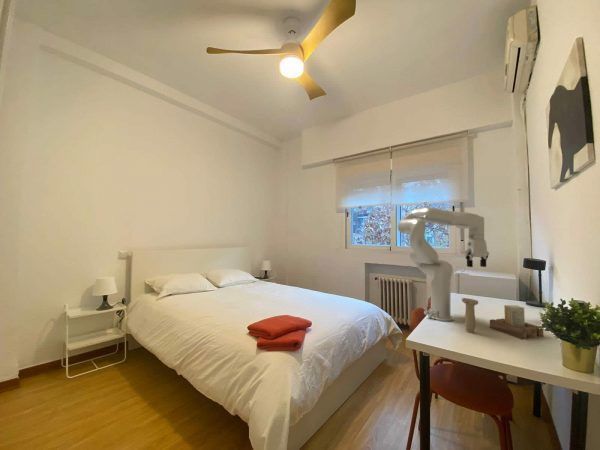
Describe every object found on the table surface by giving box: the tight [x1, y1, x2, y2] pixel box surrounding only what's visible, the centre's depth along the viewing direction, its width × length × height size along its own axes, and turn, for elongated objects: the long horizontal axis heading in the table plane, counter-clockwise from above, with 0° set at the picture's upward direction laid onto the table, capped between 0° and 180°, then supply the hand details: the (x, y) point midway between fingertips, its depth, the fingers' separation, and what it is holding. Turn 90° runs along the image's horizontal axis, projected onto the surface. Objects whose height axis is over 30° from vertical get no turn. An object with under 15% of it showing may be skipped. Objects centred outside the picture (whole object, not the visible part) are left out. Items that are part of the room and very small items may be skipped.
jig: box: [489, 317, 544, 340], centre depth 118 cm, size 14×14×4 cm
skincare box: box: [504, 304, 526, 328], centre depth 118 cm, size 6×4×12 cm
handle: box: [461, 297, 479, 334], centre depth 117 cm, size 5×6×15 cm
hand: (476, 266), depth 144 cm, fingers open, 9 cm apart
